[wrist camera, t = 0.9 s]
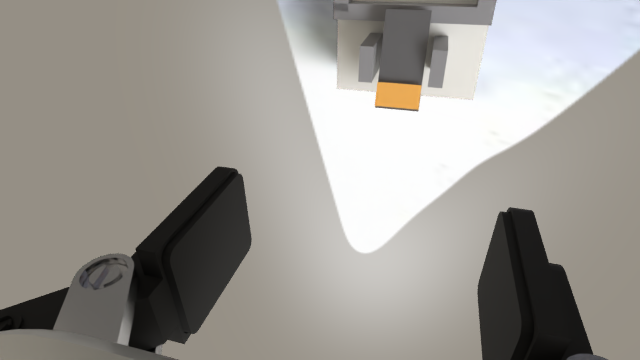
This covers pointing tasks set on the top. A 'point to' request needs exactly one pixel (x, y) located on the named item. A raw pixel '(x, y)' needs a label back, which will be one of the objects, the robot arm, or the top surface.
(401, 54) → the breaker lever
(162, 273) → the robot arm
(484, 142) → the top surface
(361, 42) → the box
